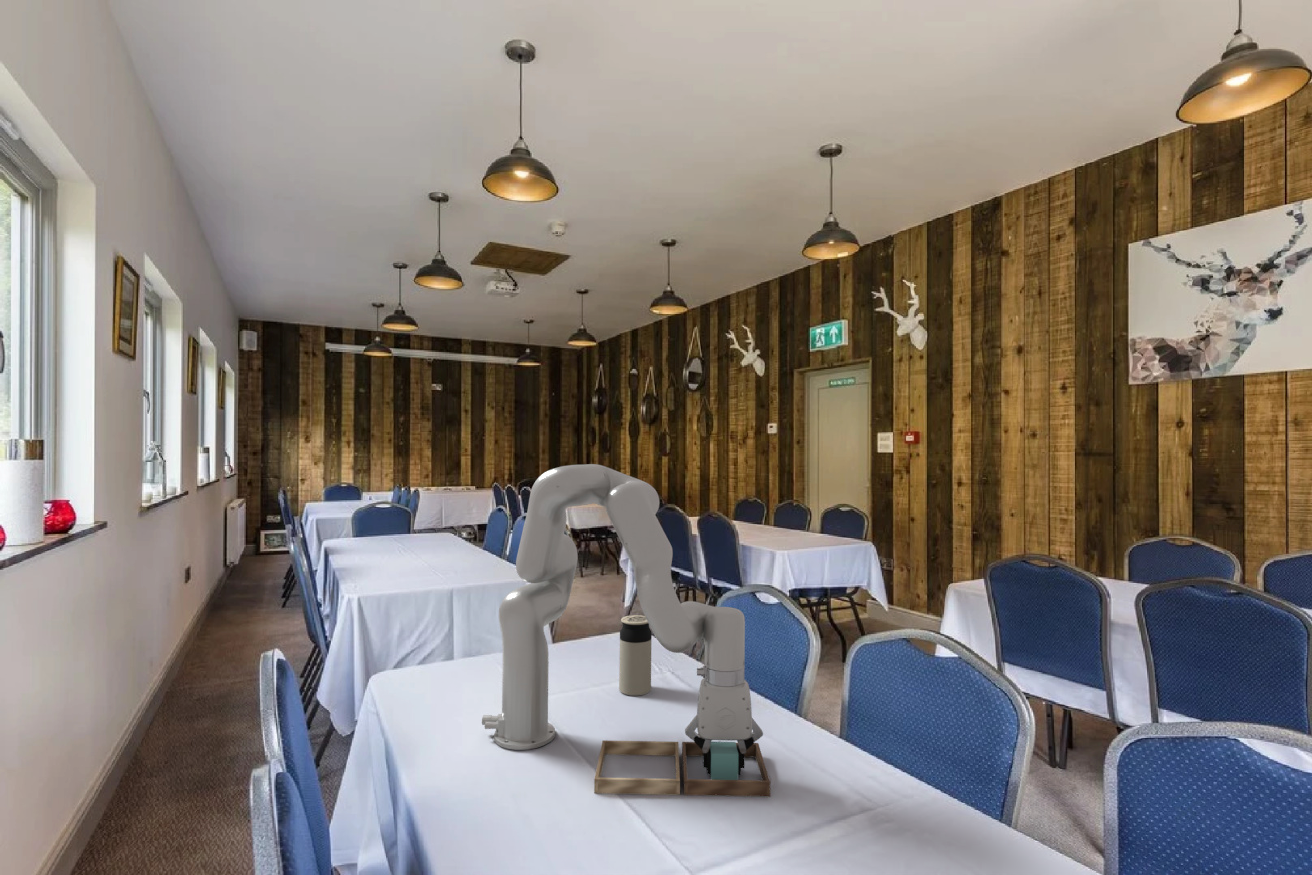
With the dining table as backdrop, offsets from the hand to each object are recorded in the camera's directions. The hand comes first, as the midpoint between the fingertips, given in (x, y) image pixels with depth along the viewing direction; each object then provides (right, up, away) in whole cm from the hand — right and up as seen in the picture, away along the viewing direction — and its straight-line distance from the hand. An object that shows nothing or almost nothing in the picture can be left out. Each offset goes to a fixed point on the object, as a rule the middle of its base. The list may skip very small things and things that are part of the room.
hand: (723, 770), depth 124 cm
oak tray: (-16, -1, 0) cm, 16 cm away
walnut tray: (0, -1, 0) cm, 1 cm away
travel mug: (-18, -1, +41) cm, 45 cm away
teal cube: (0, -1, 0) cm, 1 cm away
